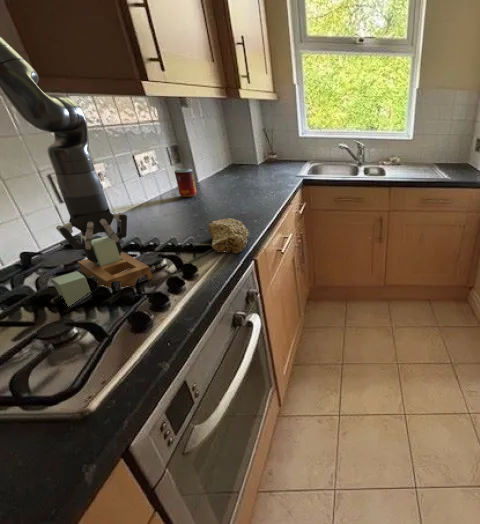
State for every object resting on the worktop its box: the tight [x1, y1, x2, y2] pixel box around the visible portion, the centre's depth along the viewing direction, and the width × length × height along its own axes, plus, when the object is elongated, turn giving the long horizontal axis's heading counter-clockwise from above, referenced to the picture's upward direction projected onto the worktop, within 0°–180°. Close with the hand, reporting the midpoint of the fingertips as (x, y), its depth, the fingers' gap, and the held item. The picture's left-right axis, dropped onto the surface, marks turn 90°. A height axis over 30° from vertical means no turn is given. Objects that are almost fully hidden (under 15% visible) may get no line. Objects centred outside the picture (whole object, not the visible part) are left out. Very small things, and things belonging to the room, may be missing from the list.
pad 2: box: [91, 235, 121, 266], centre depth 83 cm, size 4×4×6 cm
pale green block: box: [51, 270, 92, 308], centre depth 72 cm, size 4×4×6 cm
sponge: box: [207, 218, 250, 254], centre depth 103 cm, size 13×8×20 cm
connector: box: [77, 251, 153, 288], centre depth 83 cm, size 9×16×4 cm, turn 56°
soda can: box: [174, 167, 198, 198], centre depth 148 cm, size 7×7×12 cm
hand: (106, 257), depth 84 cm, fingers closed on pad 2, 4 cm apart
